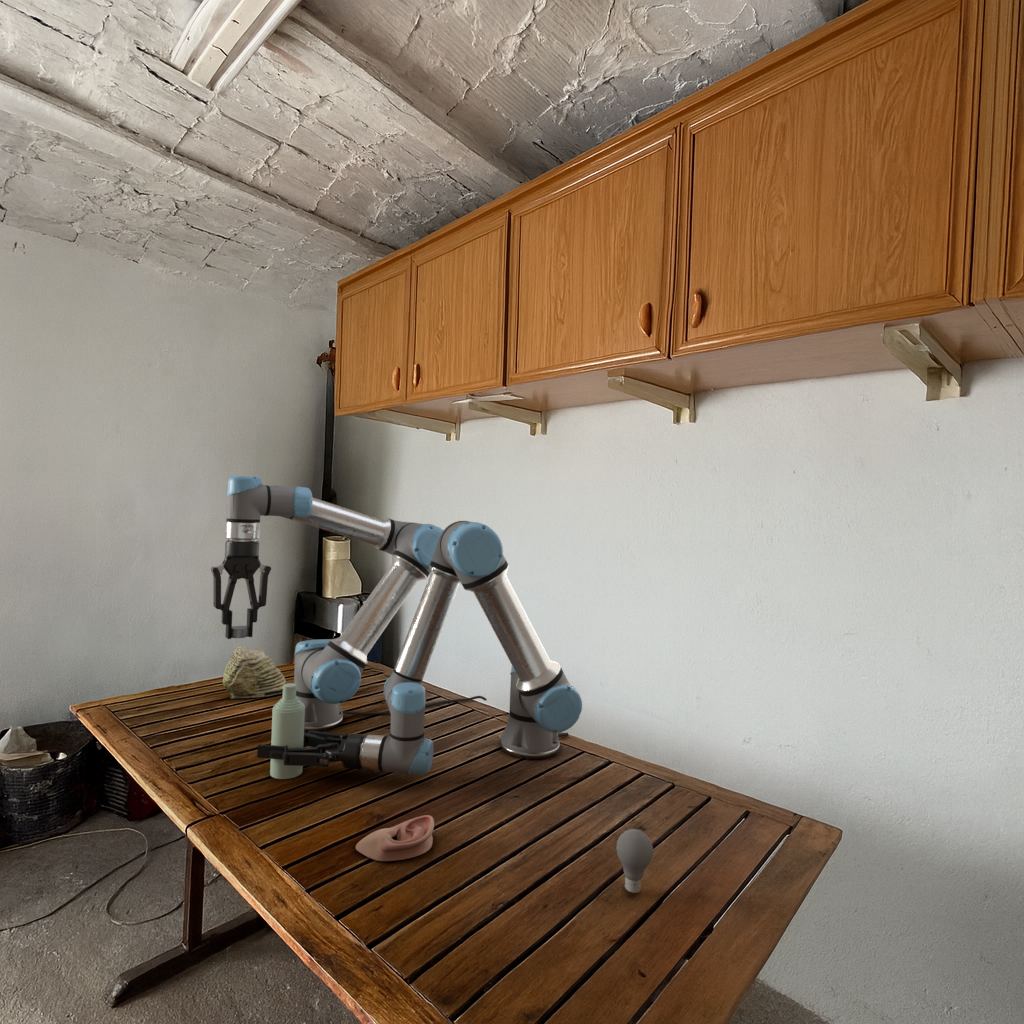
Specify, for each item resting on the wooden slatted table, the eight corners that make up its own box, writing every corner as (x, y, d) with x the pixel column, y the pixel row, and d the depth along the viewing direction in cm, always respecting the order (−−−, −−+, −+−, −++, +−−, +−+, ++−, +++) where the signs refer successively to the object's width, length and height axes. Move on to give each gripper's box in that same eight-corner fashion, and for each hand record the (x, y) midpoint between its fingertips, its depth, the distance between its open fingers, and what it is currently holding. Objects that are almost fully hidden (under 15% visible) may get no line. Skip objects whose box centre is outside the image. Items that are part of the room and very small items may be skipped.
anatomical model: (348, 834, 112) (375, 804, 123) (347, 856, 112) (374, 824, 123) (419, 845, 109) (440, 813, 120) (418, 868, 109) (439, 834, 121)
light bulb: (610, 879, 108) (613, 822, 108) (644, 879, 109) (647, 822, 109) (619, 902, 102) (622, 840, 102) (655, 901, 103) (658, 840, 103)
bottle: (278, 782, 140) (281, 691, 139) (264, 771, 145) (268, 684, 144) (307, 773, 145) (311, 685, 144) (293, 763, 150) (297, 678, 149)
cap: (245, 638, 151) (246, 629, 151) (227, 638, 150) (227, 629, 150) (250, 634, 155) (250, 625, 155) (232, 634, 154) (232, 625, 154)
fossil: (218, 695, 195) (220, 647, 195) (278, 685, 208) (279, 640, 207) (228, 703, 189) (230, 653, 188) (289, 692, 201) (290, 645, 201)
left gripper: (206, 541, 144) (203, 643, 144) (283, 541, 154) (279, 636, 154) (200, 538, 150) (196, 637, 150) (274, 538, 160) (271, 630, 161)
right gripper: (348, 788, 133) (243, 779, 135) (376, 751, 153) (285, 744, 155) (349, 753, 133) (244, 744, 135) (377, 720, 153) (286, 713, 155)
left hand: (238, 636), depth 152 cm, fingers closed on cap, 4 cm apart
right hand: (266, 744), depth 145 cm, fingers closed on bottle, 7 cm apart
